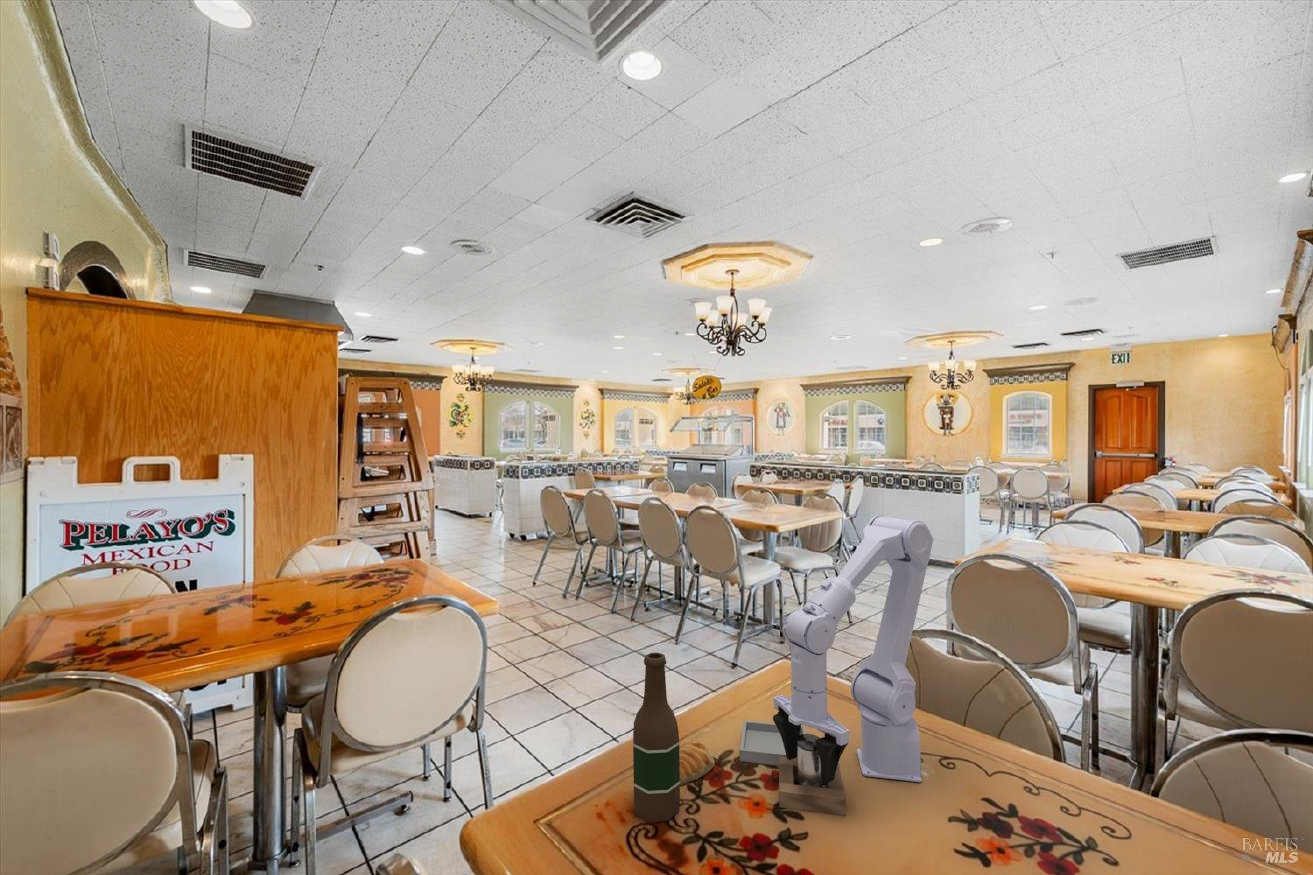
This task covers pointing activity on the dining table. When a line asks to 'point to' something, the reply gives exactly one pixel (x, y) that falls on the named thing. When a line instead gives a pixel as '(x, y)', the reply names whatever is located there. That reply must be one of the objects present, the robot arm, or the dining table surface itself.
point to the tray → (762, 743)
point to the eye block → (809, 791)
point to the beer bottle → (656, 748)
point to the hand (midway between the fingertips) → (809, 768)
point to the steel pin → (808, 761)
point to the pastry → (694, 761)
